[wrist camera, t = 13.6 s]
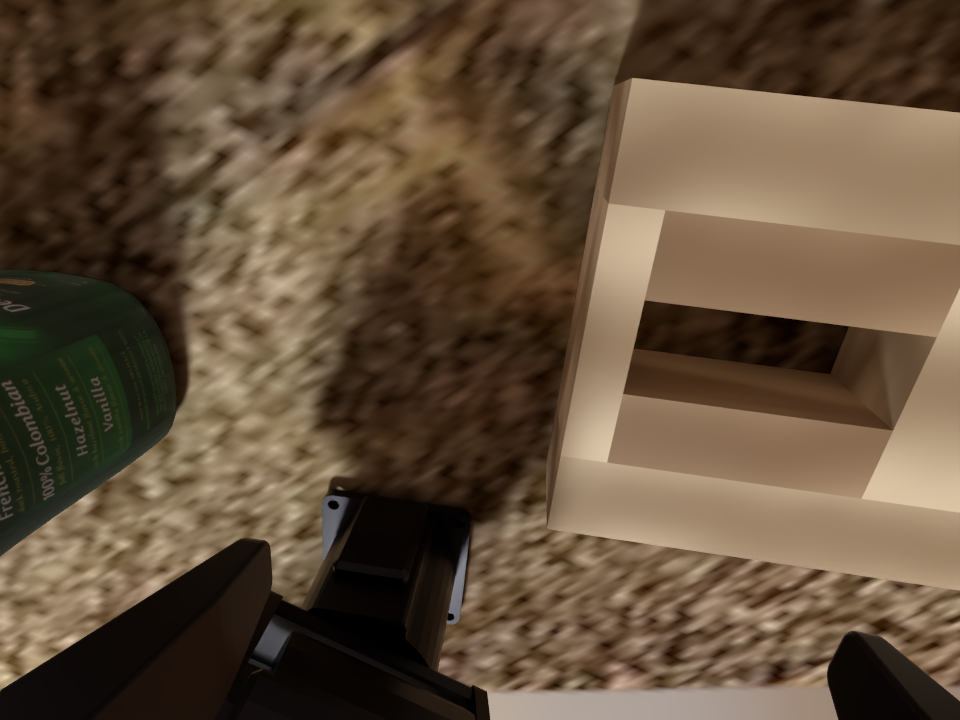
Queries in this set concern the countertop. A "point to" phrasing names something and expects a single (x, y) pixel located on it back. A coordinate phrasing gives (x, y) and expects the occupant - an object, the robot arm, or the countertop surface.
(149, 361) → the coffee jar
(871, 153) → the socket board
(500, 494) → the countertop surface
